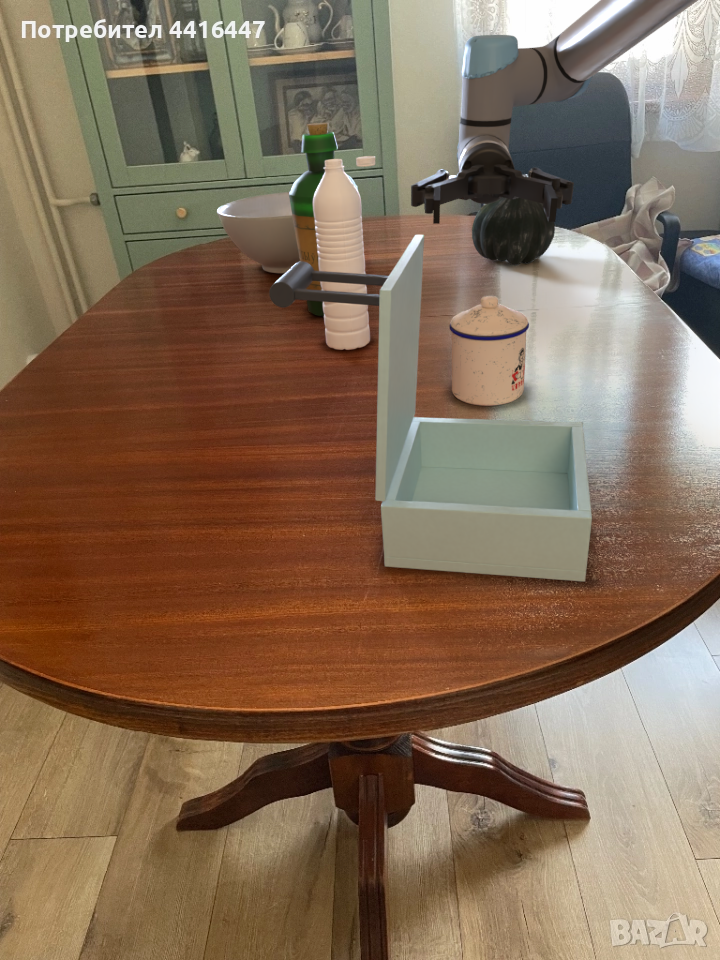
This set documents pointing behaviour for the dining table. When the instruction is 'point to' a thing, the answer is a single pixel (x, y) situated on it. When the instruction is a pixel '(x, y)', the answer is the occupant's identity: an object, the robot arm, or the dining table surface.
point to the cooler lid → (395, 342)
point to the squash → (512, 231)
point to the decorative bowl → (263, 230)
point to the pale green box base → (490, 499)
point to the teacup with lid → (488, 353)
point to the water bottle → (341, 252)
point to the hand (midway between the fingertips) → (494, 211)
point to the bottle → (311, 198)
